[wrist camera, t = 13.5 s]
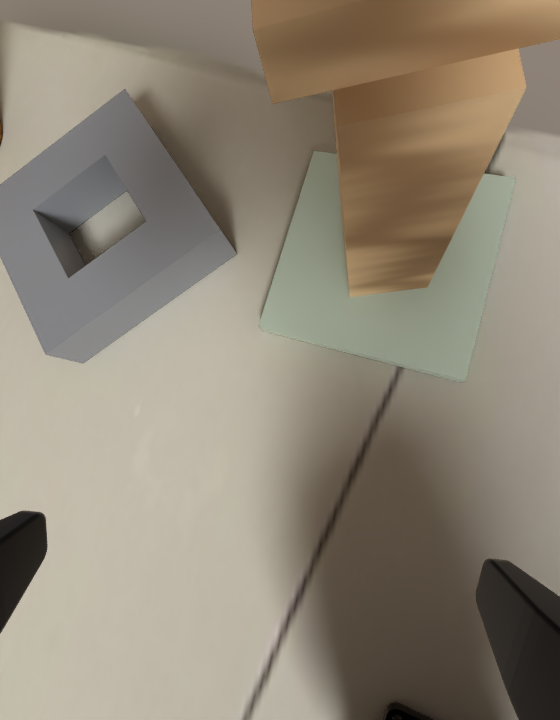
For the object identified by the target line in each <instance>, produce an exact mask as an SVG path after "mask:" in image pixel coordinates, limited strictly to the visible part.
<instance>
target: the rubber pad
mask: <svg viewBox="0 0 560 720" xmlns="http://www.w3.org/2000/svg"><path fill="white" fill-rule="evenodd" d="M515 181H516V178H514V177H507V176H499V175H492V174H483V176H482V178H481V180H480V182H479V184H478V186H477V188H476V190H475V193H474V195H473V197H472V199H471V201H470V203H469V205H468V207H467V209H466V211H465V213H464V215H463V217H462V219H461V221H460V223H459V225H458V227H457V229H456V231H455V233H454V235H453V237H452V239H451V241H450V243H449V245H448V247H447V249H446V251H445V253H444V255H443V257H442V259H441V261H440V263H439V265H438V267H437V269H436V271H435V273H434V275H433V277H432V279H431V281H430V283H429V285H428V287H427V288H419V289H411V290H403V291H395V292H387V293H379V294H371V295H363V296H355V297H349V288H348V278H347V268H346V258H345V248H344V238H343V228H342V215H341V202H340V190H339V177H338V164H337V154H335V153H327V152H320V151H314V152H313V155H312V158H311V161H310V164H309V167H308V171H307V174H306V177H305V180H304V183H303V186H302V189H301V193H300V196H299V199H298V202H297V205H296V208H295V212H294V215H293V218H292V221H291V224H290V227H289V231H288V234H287V237H286V240H285V243H284V246H283V250H282V253H281V256H280V259H279V262H278V265H277V269H276V272H275V275H274V278H273V281H272V284H271V287H270V291H269V294H268V297H267V300H266V303H265V306H264V310H263V313H262V316H261V319H260V322H259V325H258V327H259V328H260V329H261V330H262V331H265V332H269V333H273V334H276V335H280V336H284V337H288V338H292V339H296V340H299V341H303V342H307V343H311V344H315V345H319V346H322V347H326V348H330V349H334V350H338V351H342V352H345V353H349V354H353V355H357V356H361V357H365V358H368V359H372V360H376V361H380V362H384V363H388V364H391V365H395V366H399V367H403V368H407V369H411V370H414V371H418V372H422V373H426V374H430V375H434V376H437V377H441V378H445V379H449V380H453V381H457V382H460V383H461V382H463V381H465V380H466V378H467V374H468V370H469V366H470V362H471V358H472V354H473V350H474V346H475V342H476V338H477V334H478V330H479V326H480V322H481V318H482V314H483V310H484V306H485V302H486V298H487V294H488V290H489V286H490V282H491V278H492V274H493V270H494V266H495V262H496V258H497V254H498V250H499V246H500V241H501V237H502V233H503V229H504V225H505V221H506V217H507V213H508V209H509V205H510V201H511V197H512V193H513V189H514V185H515Z"/></svg>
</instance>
